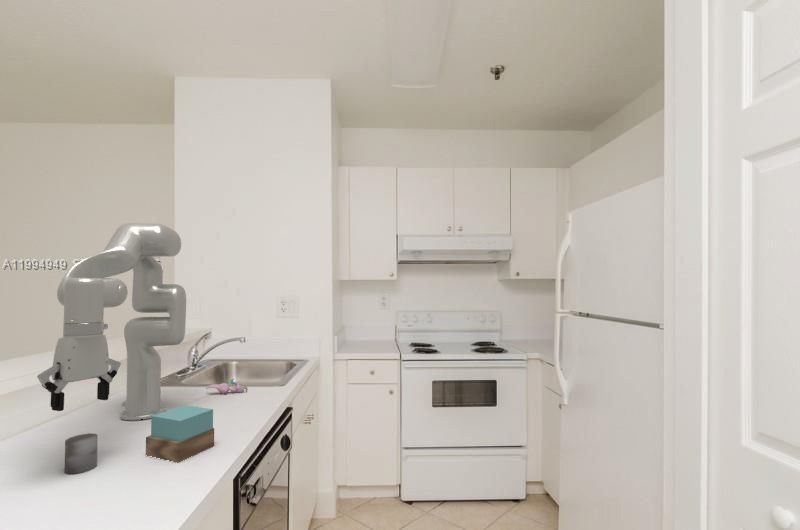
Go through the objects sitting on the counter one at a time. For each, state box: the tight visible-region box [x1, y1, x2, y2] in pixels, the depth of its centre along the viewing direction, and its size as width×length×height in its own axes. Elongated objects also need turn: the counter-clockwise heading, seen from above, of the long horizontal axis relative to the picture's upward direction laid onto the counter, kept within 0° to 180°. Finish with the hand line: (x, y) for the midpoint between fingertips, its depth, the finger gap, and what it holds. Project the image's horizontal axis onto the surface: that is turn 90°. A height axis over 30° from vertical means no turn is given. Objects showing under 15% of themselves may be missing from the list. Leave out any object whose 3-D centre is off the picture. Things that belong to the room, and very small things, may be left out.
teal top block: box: [150, 404, 214, 442], centre depth 108 cm, size 10×10×5 cm
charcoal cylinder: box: [64, 433, 98, 476], centre depth 98 cm, size 6×6×7 cm
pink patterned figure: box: [205, 378, 249, 395], centre depth 164 cm, size 6×6×15 cm
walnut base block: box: [145, 427, 215, 464], centre depth 108 cm, size 11×11×5 cm
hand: (81, 404), depth 98 cm, fingers open, 9 cm apart
